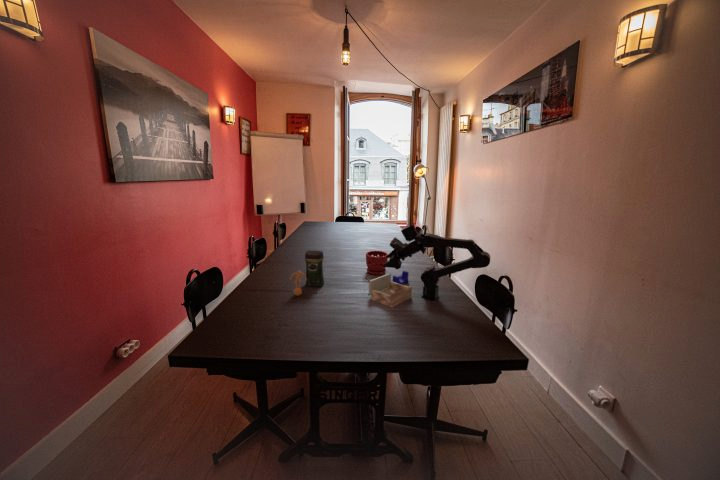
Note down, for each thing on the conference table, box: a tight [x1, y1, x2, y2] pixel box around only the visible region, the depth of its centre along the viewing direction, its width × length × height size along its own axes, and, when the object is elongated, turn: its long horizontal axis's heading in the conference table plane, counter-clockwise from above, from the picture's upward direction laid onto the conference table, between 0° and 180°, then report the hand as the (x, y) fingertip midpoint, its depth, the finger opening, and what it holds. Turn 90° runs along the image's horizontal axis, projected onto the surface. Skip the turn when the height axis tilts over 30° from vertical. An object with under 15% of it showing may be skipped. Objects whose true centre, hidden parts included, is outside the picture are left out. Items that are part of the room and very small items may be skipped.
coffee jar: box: [304, 249, 325, 288], centre depth 155 cm, size 10×8×19 cm
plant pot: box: [365, 250, 389, 275], centre depth 177 cm, size 13×13×12 cm
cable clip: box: [392, 270, 409, 285], centre depth 161 cm, size 12×4×6 cm, turn 143°
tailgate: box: [367, 273, 392, 297], centre depth 145 cm, size 2×16×8 cm, turn 137°
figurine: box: [289, 270, 307, 297], centre depth 142 cm, size 8×6×12 cm
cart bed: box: [370, 280, 413, 308], centre depth 141 cm, size 12×16×6 cm
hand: (384, 261), depth 151 cm, fingers open, 9 cm apart
